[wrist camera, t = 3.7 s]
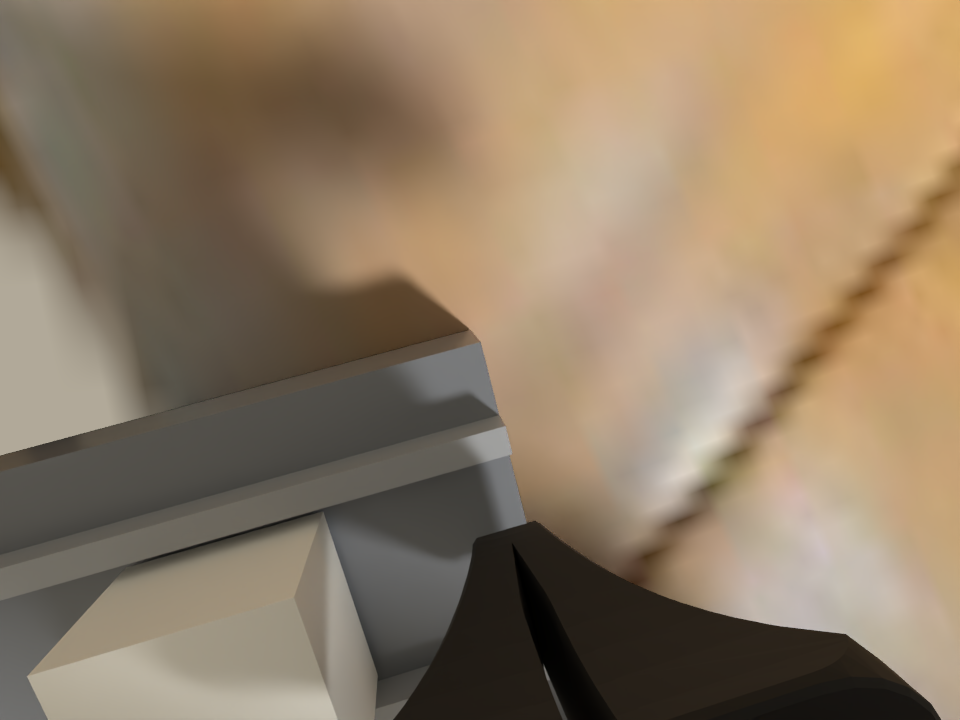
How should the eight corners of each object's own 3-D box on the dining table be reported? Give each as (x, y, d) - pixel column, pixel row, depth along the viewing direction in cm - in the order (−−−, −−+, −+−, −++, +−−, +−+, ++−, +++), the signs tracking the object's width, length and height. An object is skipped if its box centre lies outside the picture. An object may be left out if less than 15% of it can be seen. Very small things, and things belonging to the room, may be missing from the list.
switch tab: (322, 511, 12) (294, 597, 9) (377, 675, 12) (368, 803, 10) (125, 567, 11) (26, 677, 8) (195, 731, 12) (126, 882, 9)
